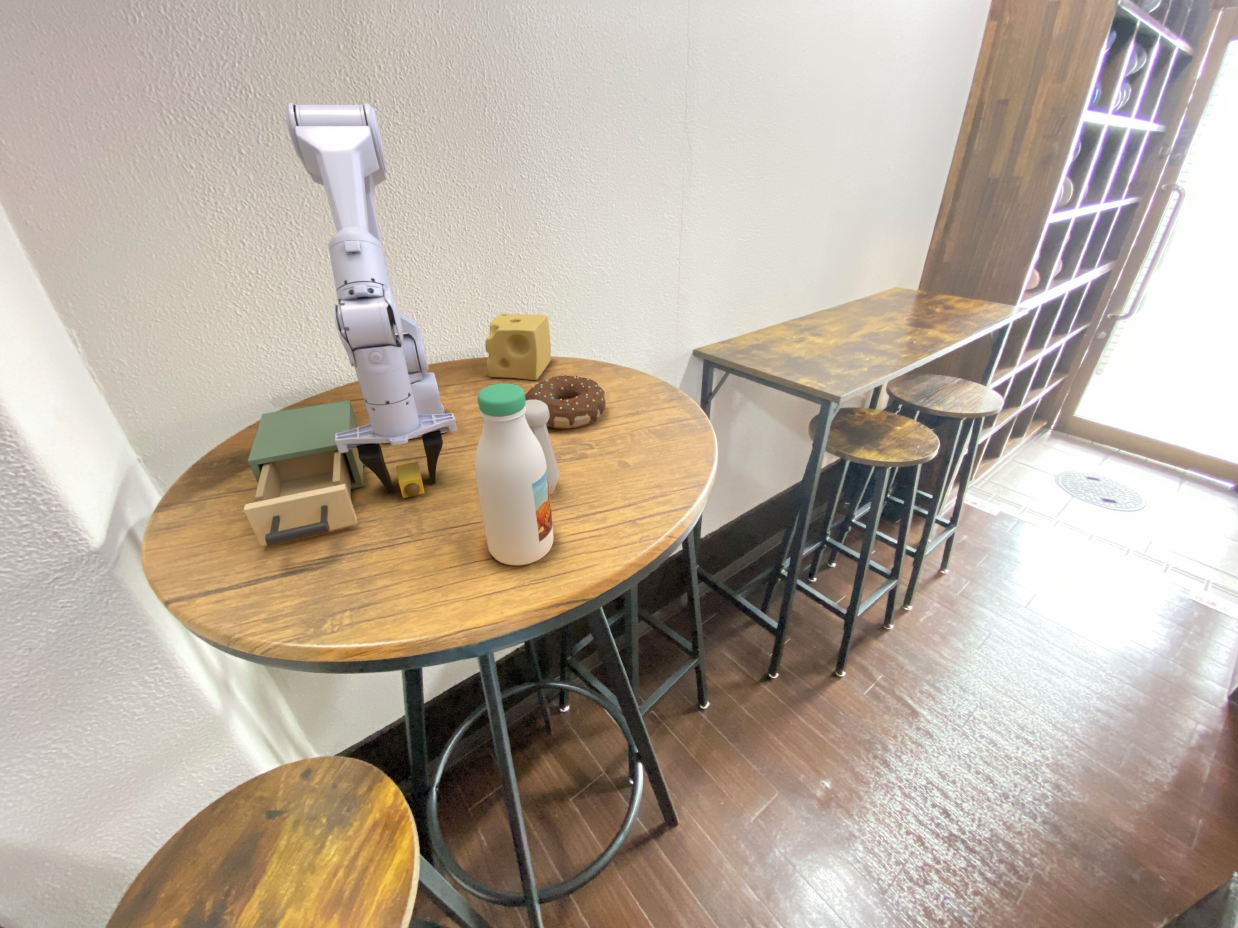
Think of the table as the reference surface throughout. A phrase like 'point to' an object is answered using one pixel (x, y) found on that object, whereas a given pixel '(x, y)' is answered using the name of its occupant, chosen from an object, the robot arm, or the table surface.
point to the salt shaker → (543, 437)
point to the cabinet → (304, 436)
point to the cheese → (518, 346)
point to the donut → (569, 400)
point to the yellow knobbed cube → (410, 479)
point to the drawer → (302, 498)
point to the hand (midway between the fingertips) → (411, 484)
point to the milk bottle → (512, 479)
